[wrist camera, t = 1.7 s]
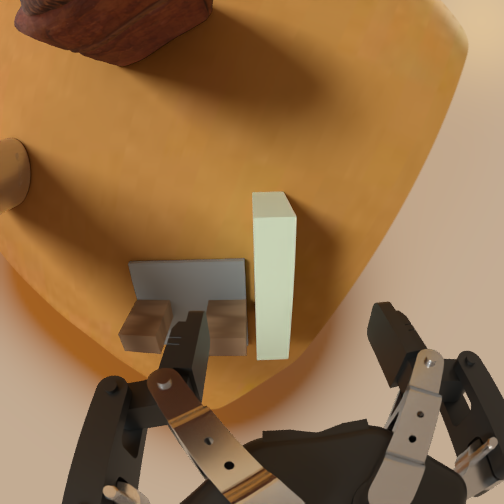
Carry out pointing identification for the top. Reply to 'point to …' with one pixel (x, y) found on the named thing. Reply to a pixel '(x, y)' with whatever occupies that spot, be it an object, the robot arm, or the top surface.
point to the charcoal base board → (189, 283)
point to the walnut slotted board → (160, 317)
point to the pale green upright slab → (273, 272)
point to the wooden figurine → (110, 25)
